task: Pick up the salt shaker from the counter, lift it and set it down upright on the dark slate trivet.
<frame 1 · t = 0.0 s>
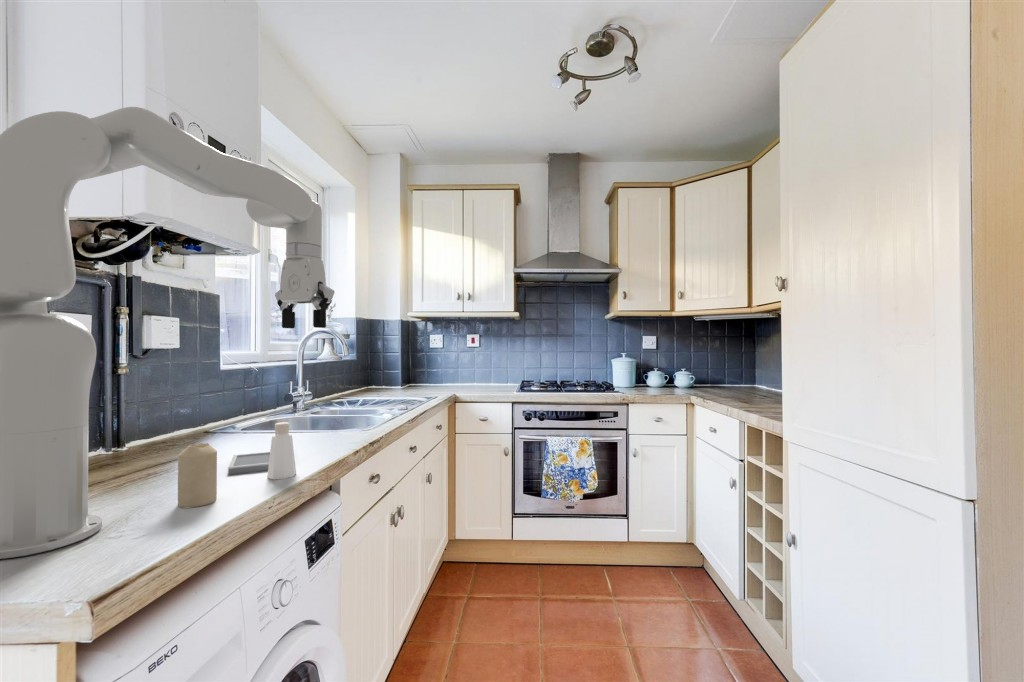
hand: (303, 327, 105), 31 cm above the countertop, tool pointing down, fingers open, 9 cm apart
salt shaker: (281, 476, 93), on the countertop
trivet: (262, 464, 102), on the countertop
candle: (197, 503, 78), on the countertop
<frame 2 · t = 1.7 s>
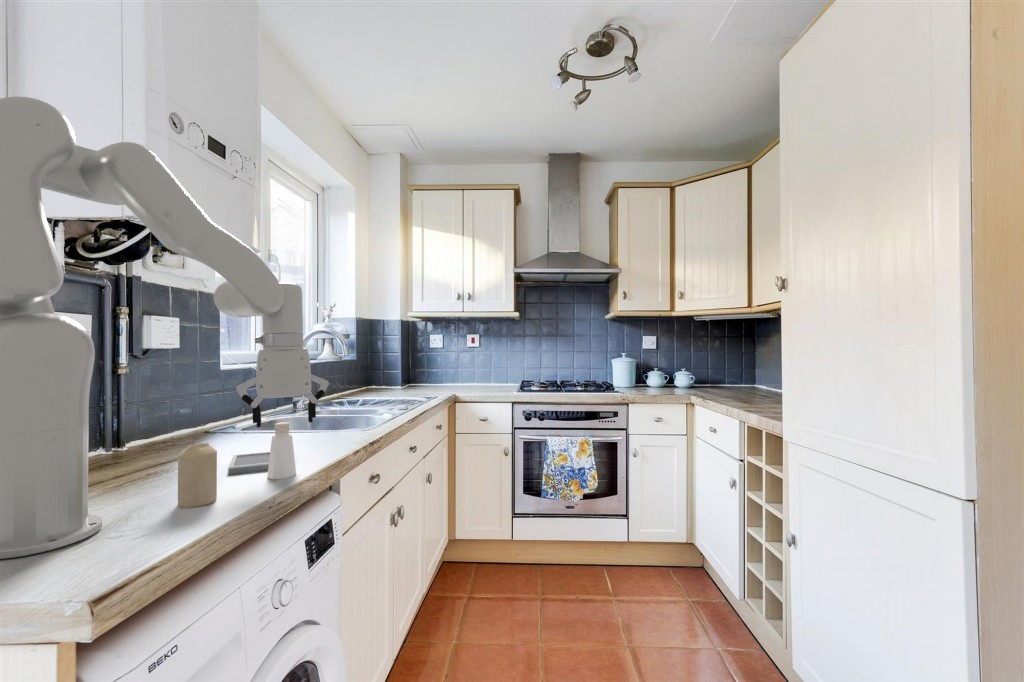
hand: (285, 423, 94), 11 cm above the countertop, tool pointing down, fingers open, 9 cm apart
nothing on the countertop moved.
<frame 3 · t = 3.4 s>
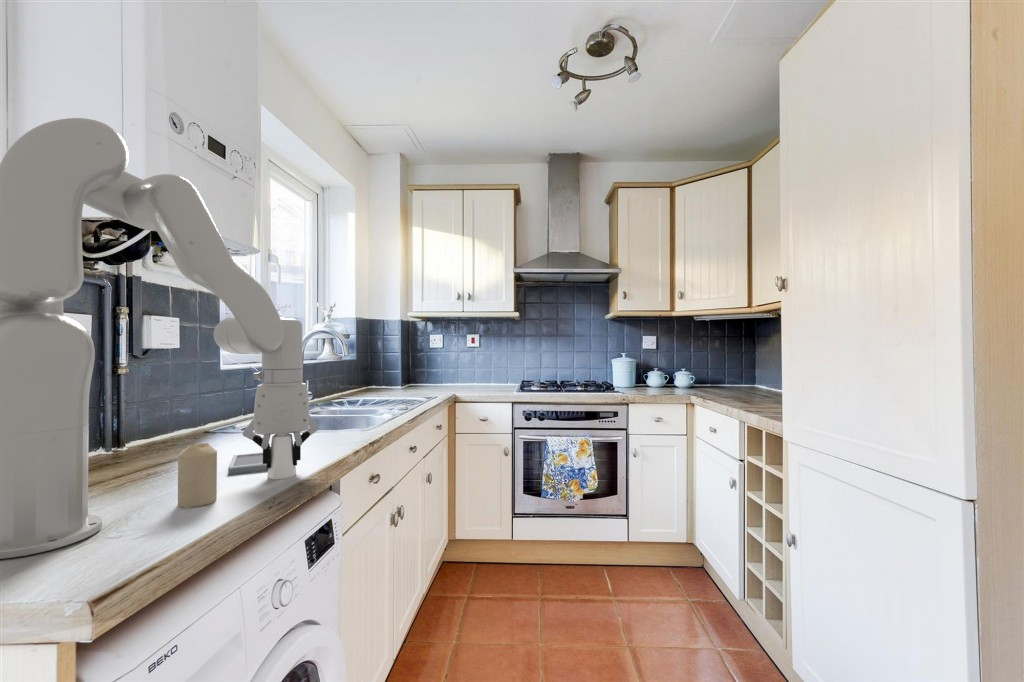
hand: (281, 464, 93), 2 cm above the countertop, tool pointing down, fingers closed on salt shaker, 4 cm apart
salt shaker: (281, 476, 93), on the countertop, touching gripper
everything else where it was.
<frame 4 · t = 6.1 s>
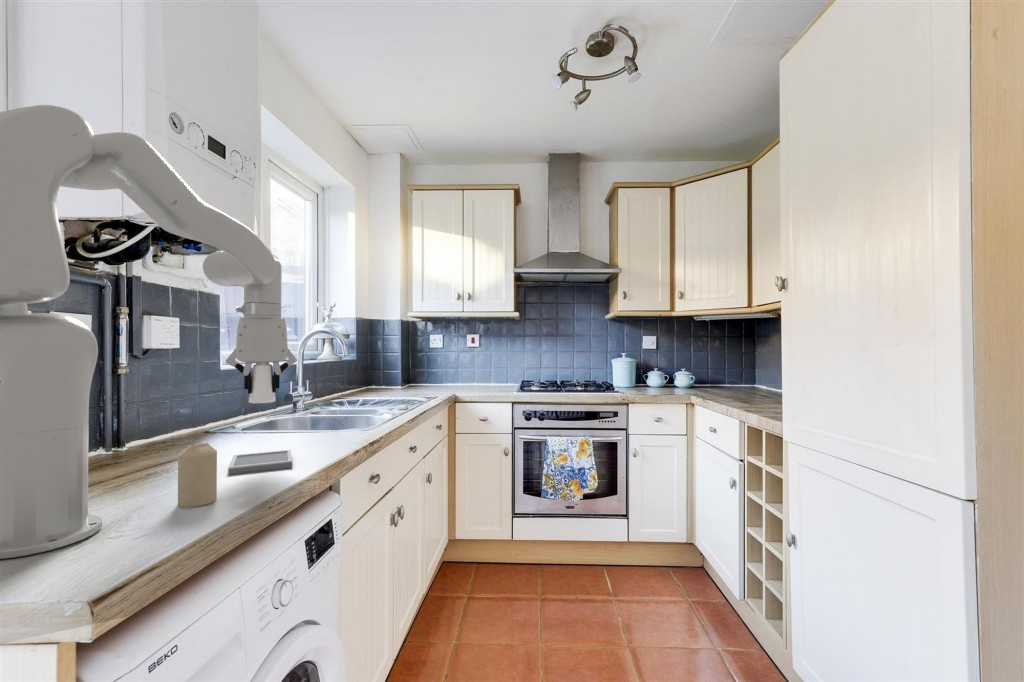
hand: (262, 391, 102), 17 cm above the countertop, tool pointing down, fingers closed on salt shaker, 4 cm apart
salt shaker: (262, 402, 102), point 14 cm above the countertop, touching gripper
everything else where it was.
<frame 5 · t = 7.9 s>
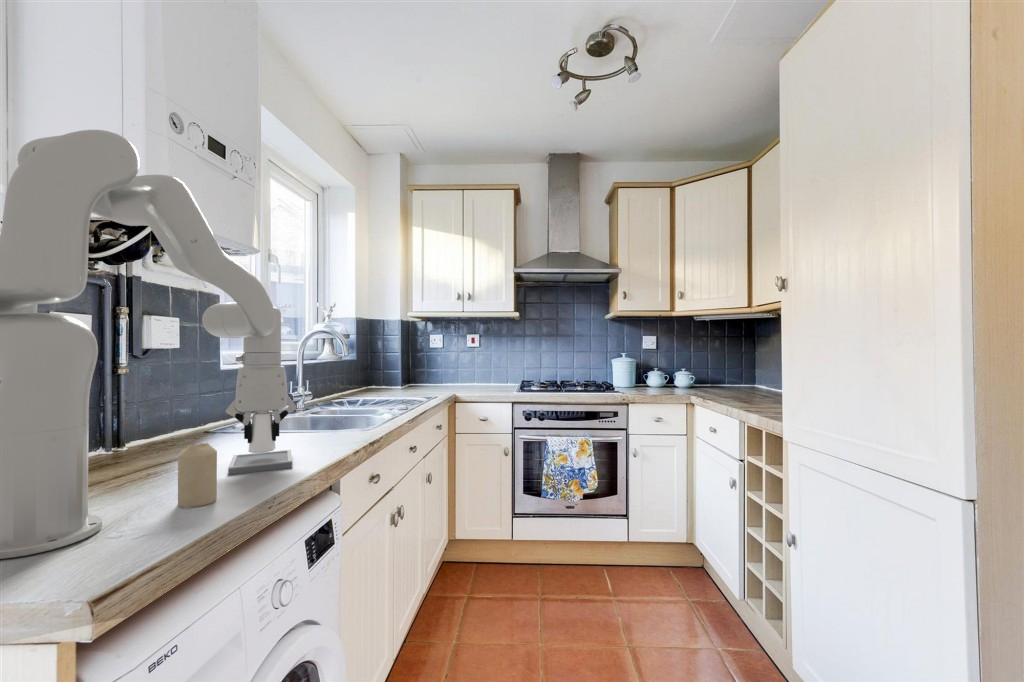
hand: (262, 440, 102), 6 cm above the countertop, tool pointing down, fingers closed on salt shaker, 4 cm apart
salt shaker: (262, 451, 102), point 3 cm above the countertop, touching gripper
everything else where it was.
when the fingers open (5 cm above the countertop, at t = 8.9 s): salt shaker drops 1 cm, resting on trivet.
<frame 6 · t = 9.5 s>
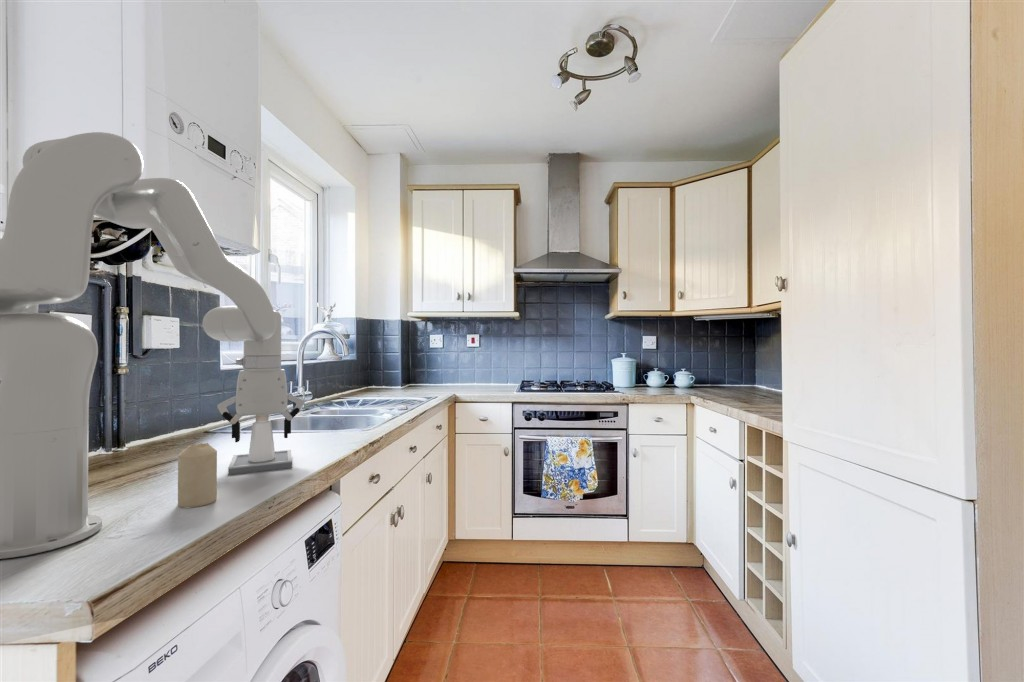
hand: (262, 439, 102), 6 cm above the countertop, tool pointing down, fingers open, 9 cm apart
salt shaker: (261, 460, 102), point 1 cm above the countertop, touching trivet
everything else where it was.
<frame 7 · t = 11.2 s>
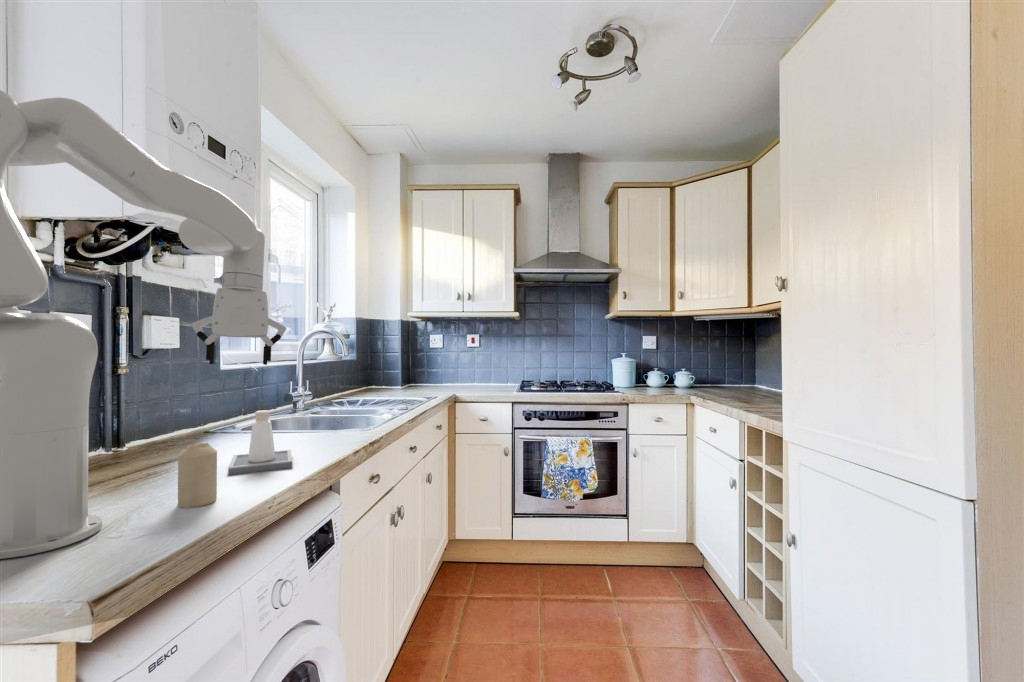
hand: (239, 364, 96), 23 cm above the countertop, tool pointing down, fingers open, 9 cm apart
nothing on the countertop moved.
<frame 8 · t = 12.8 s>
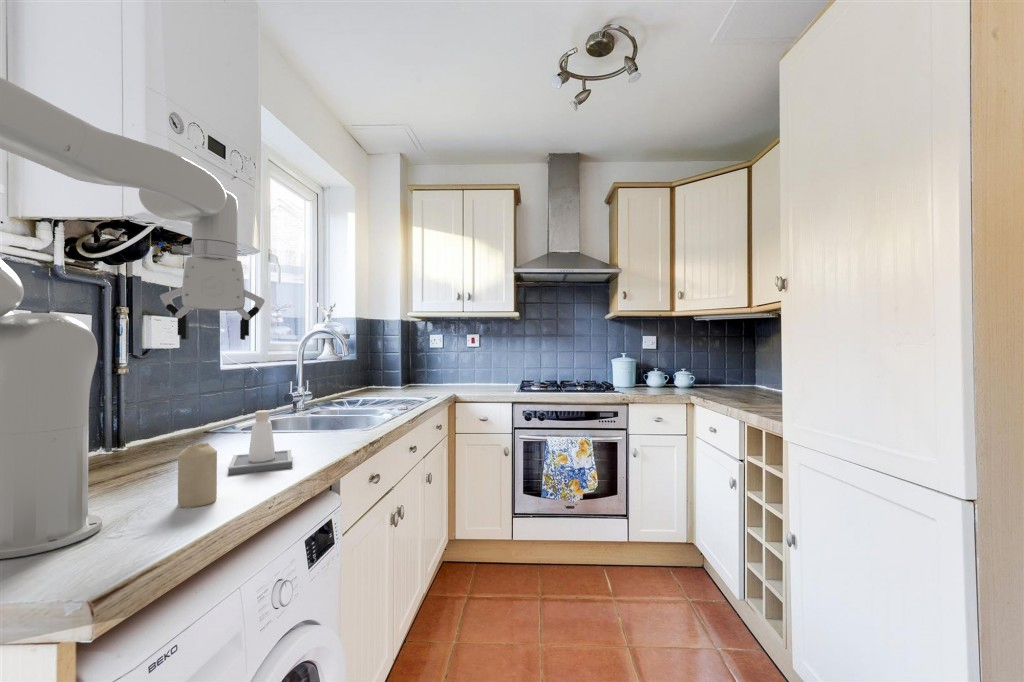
hand: (214, 339, 89), 28 cm above the countertop, tool pointing down, fingers open, 9 cm apart
nothing on the countertop moved.
at the end: salt shaker inside the target area on the trivet (0.1 cm from its centre), point 1.0 cm above the trivet's base; salt shaker tilted 0°; the gripper is holding nothing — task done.
